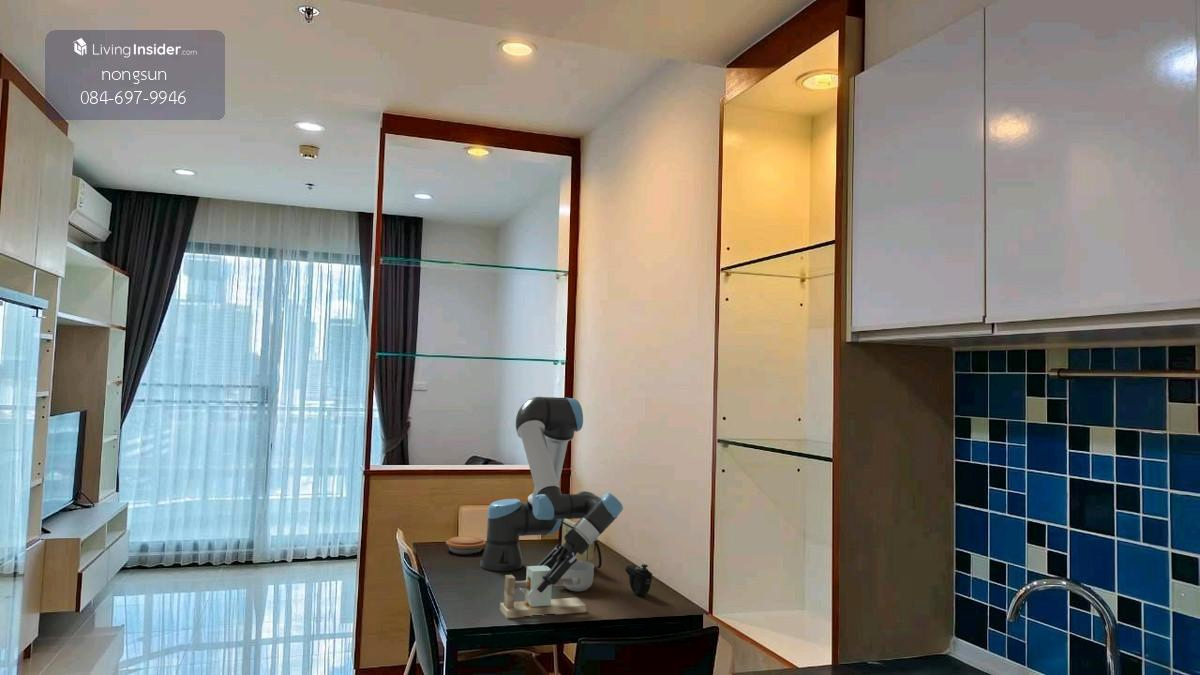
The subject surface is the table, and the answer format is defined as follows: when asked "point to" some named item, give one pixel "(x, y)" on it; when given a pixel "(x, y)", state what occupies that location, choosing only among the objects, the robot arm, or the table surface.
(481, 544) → the pie
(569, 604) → the lead screw slider
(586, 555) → the clutch purse
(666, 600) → the table surface
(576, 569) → the teacup
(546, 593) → the sleeve
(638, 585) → the controller
